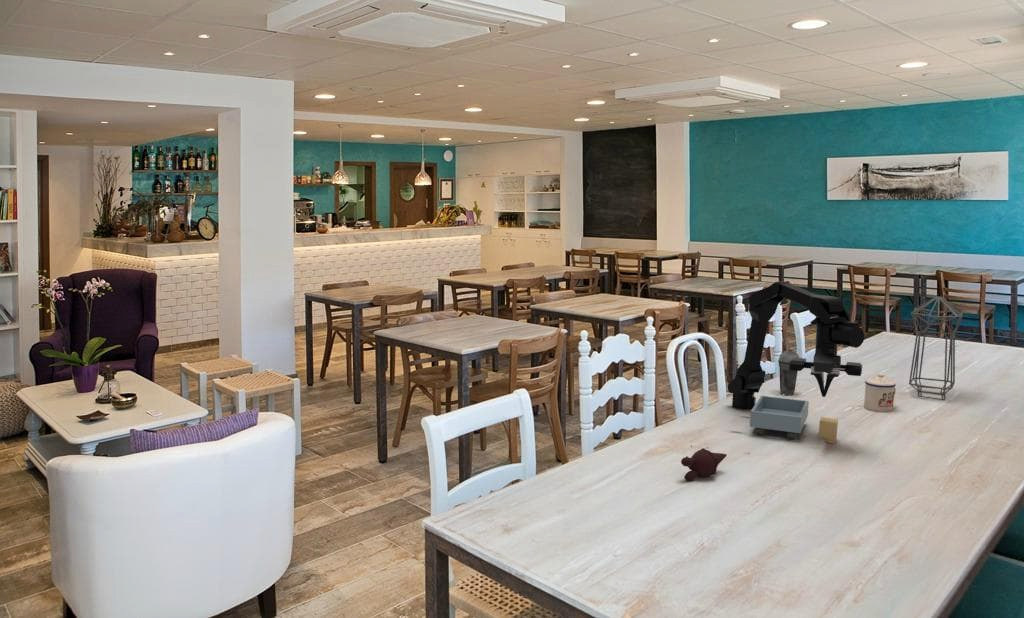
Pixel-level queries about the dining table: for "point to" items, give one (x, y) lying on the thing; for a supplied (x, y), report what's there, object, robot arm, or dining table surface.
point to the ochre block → (828, 429)
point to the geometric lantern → (951, 348)
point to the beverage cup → (787, 372)
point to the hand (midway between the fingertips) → (823, 396)
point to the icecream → (702, 463)
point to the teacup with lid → (879, 393)
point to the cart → (779, 415)
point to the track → (758, 435)
